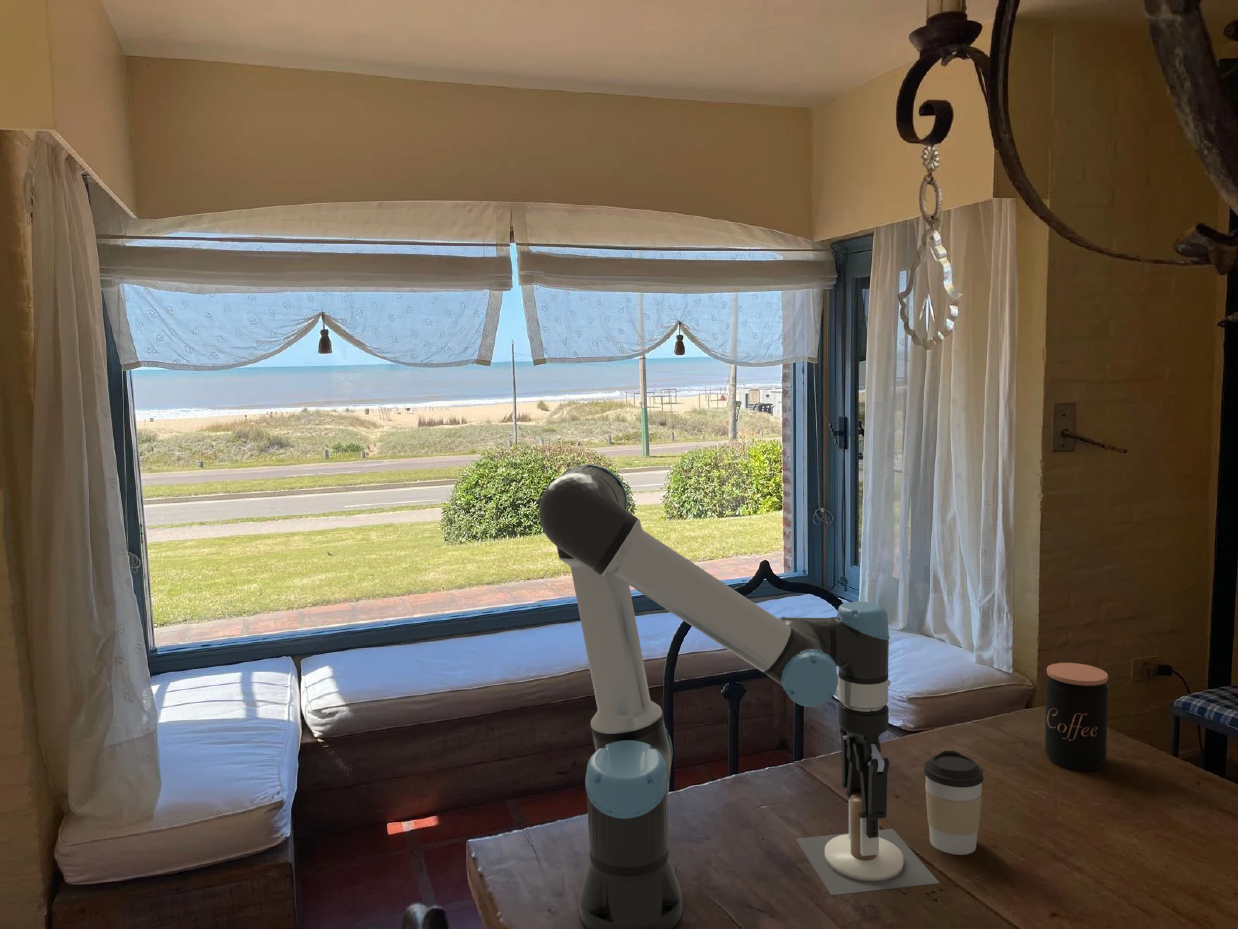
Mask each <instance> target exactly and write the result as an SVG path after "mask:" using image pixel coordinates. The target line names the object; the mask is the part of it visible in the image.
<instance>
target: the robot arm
mask: <svg viewBox="0 0 1238 929" xmlns="http://www.w3.org/2000/svg"><path fill="white" fill-rule="evenodd" d="M627 502H628V496H627V493H626V490H625V487H624V485H623V483H622V481H621V480H620V478H618V476H617V475H616V474H615V473H614V472H612V471H611V470H609V469H608V468H606V467H604V466H601V465H597V464H579V465H577V466H573V467H571V468H568V469H567V470H565V471H564V472H562V473H561V475H560V476H558V477H557V478H555V479H554V480H553V481H552V482H550V484H548V486H547V488H545V490H544V492H543V493H542V496H541V499H540V502H539V506H538V517H539V522H540V526H541V528H542V530H543V532H544V534H545V536H546V537H547V539H548V540H550V542H551V543H552V544H554V545H555V546H556V550H557V554H558V559H559V560H560V561H562V562H564V563H565V565H568V567H569V568H570V571H571V576H572V581H573V582H572V583H573V587H574V592H575V598H576V601H577V602H576V603H577V607H578V613H579V614H578V615H579V619H580V624H581V629H582V635H583V640H584V644H585V650H586V655H587V656H586V657H587V661H588V666H589V671H590V676H591V682H592V687H593V691H594V697H595V702H596V708H597V711H596V712H595V714H594V715H593V717H592V718H591V720H590V726H591V727H590V728H591V732H592V738H593V744H594V750H595V752H594V753H592V755H591V756H590V758H589V759H588V761H587V766H586V774H585V780H584V781H585V782H584V784H585V790H586V799H587V800H586V801H587V823H588V824H587V825H588V826H587V827H588V828H587V829H588V850H589V851H588V852H589V854H588V855H589V861H588V864H587V868H586V872H585V876H584V879H583V882H582V885H581V889H580V892H579V898H578V903H579V907H578V908H579V910H578V911H579V918H580V920H581V922H582V924H583V925H584V926H585V927H586V929H673V928H675V927H676V925H677V924H678V923H679V922H680V920H681V918H682V916H683V895H682V894H683V893H682V889H681V886H680V884H679V881H678V878H677V876H676V873H675V870H674V868H673V865H672V862H671V860H670V852H669V851H670V849H669V792H670V781H671V780H670V778H671V768H672V767H671V766H672V764H673V763H672V762H673V756H674V755H673V754H674V752H673V750H674V748H673V744H672V739H671V737H670V734H669V731H668V730H667V728H666V726H665V720H664V715H663V714H664V713H663V711H662V708H661V706H660V705H658V704H657V703H656V702H654V701H652V700H651V696H650V691H649V686H648V684H649V683H648V680H647V674H646V668H645V663H644V658H643V653H642V647H641V641H640V636H639V630H638V626H637V620H636V615H635V610H634V602H633V599H632V593H631V589H630V587H631V588H633V589H635V590H636V591H638V592H639V593H640V594H641V595H644V596H645V597H647V598H649V599H650V600H651V601H653V602H654V603H657V605H659V606H660V607H662V608H664V609H665V610H667V611H668V612H670V613H671V614H673V615H675V616H676V617H677V618H679V619H680V620H682V621H683V622H685V623H687V624H688V625H690V626H691V627H693V628H694V629H696V630H697V631H699V632H701V633H702V634H703V635H705V636H706V637H708V638H709V639H711V640H712V641H714V642H716V643H717V644H719V645H721V646H722V647H723V648H725V649H727V650H728V651H730V652H731V653H733V654H734V655H736V656H738V657H739V658H740V659H742V660H744V662H746V663H748V664H750V665H751V666H753V667H754V668H755V669H757V670H759V671H760V672H761V673H763V674H765V676H767V677H769V678H771V680H774V682H776V683H778V684H779V685H780V686H782V687H781V688H782V689H783V691H784V692H785V693H786V695H787V696H788V697H789V698H790V699H791V700H792V702H794V703H796V705H797V704H798V705H799V706H802V707H807V708H814V707H819V706H822V705H824V704H825V703H828V702H829V701H830V700H831V699H832V698H833V697H834V695H835V693H836V692H837V699H838V701H839V702H838V704H837V705H838V706H837V707H838V710H837V712H838V713H837V714H838V718H837V719H838V720H837V721H838V725H839V727H840V728H839V734H840V741H841V742H840V743H841V781H842V782H841V785H842V788H843V789H846V796H847V798H848V833H849V839H850V797H851V796H852V795H853V794H856V793H862V805H863V812H862V813H859V817H860V854H861V855H862V856H868V855H878V854H879V830H880V819H886V818H887V808H888V805H887V804H888V800H887V799H888V795H887V794H888V772H889V767H890V760H889V758H887V757H882V755H881V751H882V748H881V742H880V739H879V738H880V736H881V735H882V734H884V733H885V732H887V731H888V729H889V725H890V724H889V718H890V717H889V716H890V715H889V708H890V707H889V706H888V703H889V687H890V685H891V681H890V680H889V652H890V651H889V648H890V647H889V643H890V641H889V640H890V637H891V636H890V635H889V633H890V632H889V619H888V617H889V616H888V612H887V610H886V609H885V608H884V606H882V605H880V604H877V603H875V602H870V601H851V602H844V603H842V604H840V605H839V606H838V608H837V613H836V616H831V617H786V616H780V617H776V616H774V615H773V614H772V613H770V612H769V611H767V610H766V609H764V608H763V607H760V605H758V604H756V603H755V602H753V601H752V600H750V599H749V598H747V597H745V596H744V595H742V594H741V593H740V592H738V591H737V590H735V589H734V588H732V587H730V586H729V585H727V584H725V583H724V582H722V581H721V580H720V579H718V578H717V577H715V576H714V575H712V574H710V573H709V572H708V571H706V570H705V569H703V568H701V567H699V566H698V565H696V564H695V563H694V562H693V561H690V560H689V559H688V558H686V557H684V556H683V555H682V554H680V553H678V552H677V551H676V550H674V549H673V548H671V547H669V546H668V545H666V544H665V543H663V542H662V541H660V540H659V539H657V538H656V537H654V536H652V535H651V534H649V533H648V532H646V531H645V530H644V529H643V528H642V523H641V520H640V519H639V518H638V517H637V516H635V515H633V514H632V513H631V512H629V511H628V510H626V509H627V506H628V505H627ZM837 670H838V671H837Z"/></svg>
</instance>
